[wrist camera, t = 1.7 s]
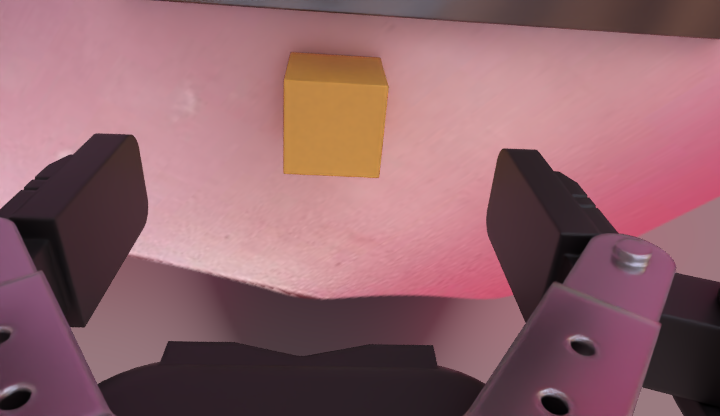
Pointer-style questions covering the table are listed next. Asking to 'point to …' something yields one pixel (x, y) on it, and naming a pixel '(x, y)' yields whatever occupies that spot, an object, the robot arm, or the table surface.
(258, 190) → the table surface
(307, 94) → the ochre block
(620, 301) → the robot arm
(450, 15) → the walnut board
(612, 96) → the table surface
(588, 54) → the table surface
